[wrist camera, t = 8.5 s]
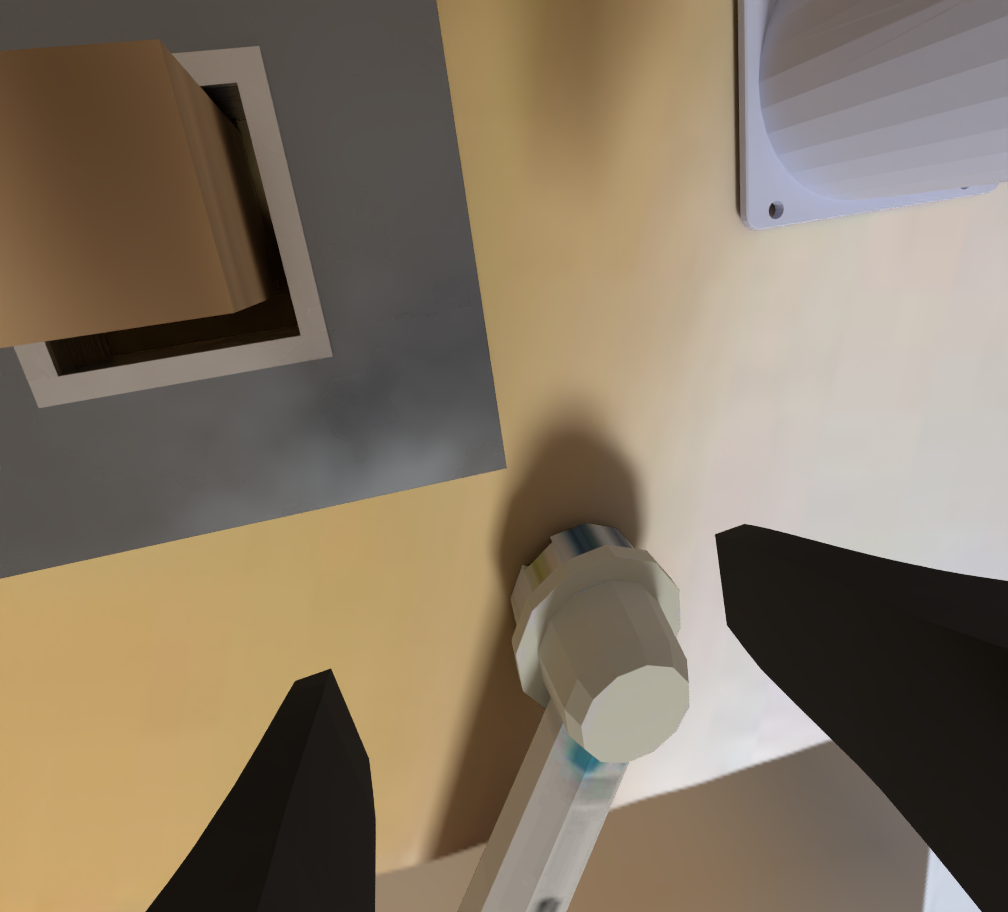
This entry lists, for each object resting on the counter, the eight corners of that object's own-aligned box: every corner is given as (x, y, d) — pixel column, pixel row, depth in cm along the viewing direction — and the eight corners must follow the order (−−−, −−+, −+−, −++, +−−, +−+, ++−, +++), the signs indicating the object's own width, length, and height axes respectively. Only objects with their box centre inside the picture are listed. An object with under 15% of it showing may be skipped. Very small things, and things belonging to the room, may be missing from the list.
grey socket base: (397, -106, 15) (407, -199, 12) (484, 438, 19) (508, 470, 16) (-288, -73, 12) (-492, -180, 9) (-2, 539, 17) (-78, 598, 14)
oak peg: (241, 133, 15) (158, 38, 9) (280, 294, 17) (234, 312, 10) (70, 151, 15) (-154, 61, 8) (125, 317, 16) (-31, 352, 10)
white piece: (378, 1158, 23) (602, 645, 14) (376, 956, 29) (533, 502, 20) (508, 1138, 24) (786, 662, 15) (481, 949, 30) (671, 526, 21)
